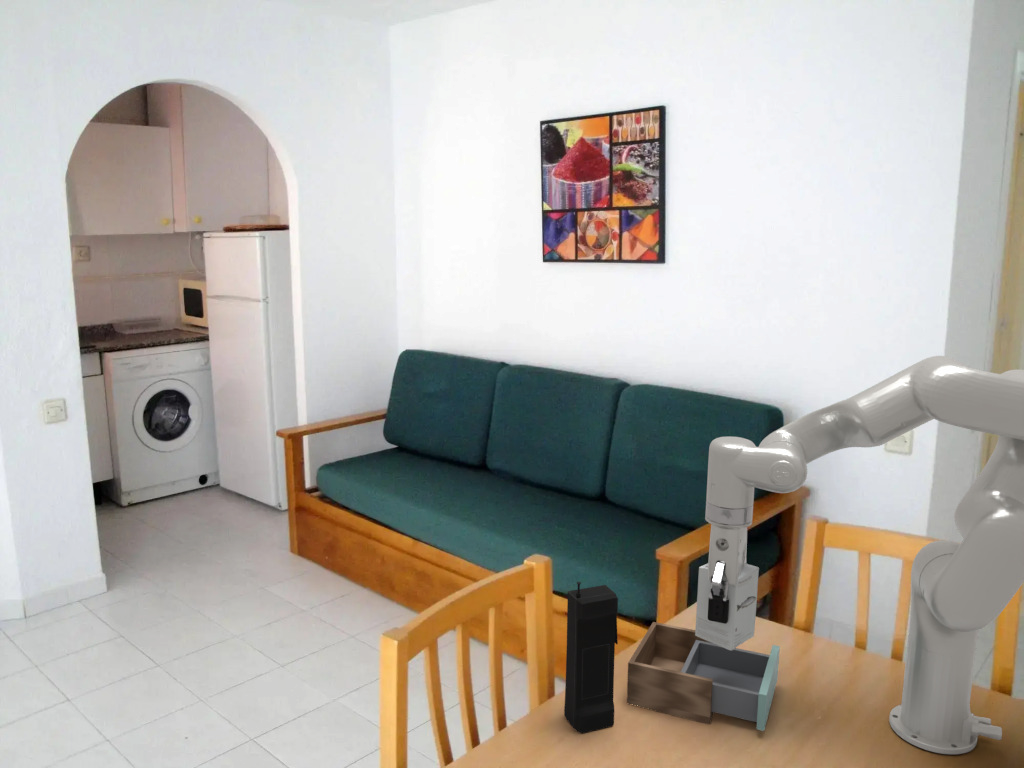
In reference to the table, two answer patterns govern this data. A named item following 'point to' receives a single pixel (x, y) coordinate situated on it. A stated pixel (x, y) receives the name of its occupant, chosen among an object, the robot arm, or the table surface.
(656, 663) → the box
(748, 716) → the drawer
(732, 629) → the supplement box
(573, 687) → the portable radio
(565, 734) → the table surface
